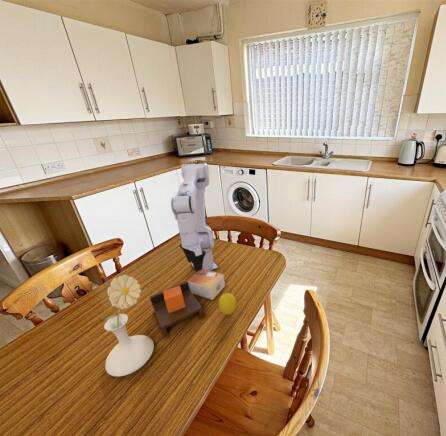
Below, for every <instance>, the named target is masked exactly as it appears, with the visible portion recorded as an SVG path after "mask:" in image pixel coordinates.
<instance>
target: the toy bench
mask: <svg viewBox="0 0 446 436" xmlns="http://www.w3.org/2000/svg"><path fill="white" fill-rule="evenodd" d="M177 286H180V288H181V292H182V295H183V299H184V303H185V307H184V308H181V309H179V310H176V311H174V312H171V313H168V309H167V306H166V303H165V299H164V294H163V291H165V290H168V289H171V288H174V287H177ZM165 290H162V291H160V292H157V293H155V294H153V295H150V296H149V299H150V303H151V305H152V308H153V311H154V314H155V317H156V319H157V321H158V324H159V326H160V329H161V331H162V333H163V337H164V338H166V337H169V333H168V330H167V329H168V328H169V327H172V326H174V325H176V324H177V323H180V322H181V321H183V320H186V319H187V318H189V317H191V316H193V315H195V314H198V317H199V318H200V319H202V318H204V317H205V316H204V312H203V307H202V306H201V304H200V302H199V301H198V299H197V298H196V297H195V294H193V293H192V292H191V290H190V289H189V285H188V282H187V280H185V281H183V282H181V283H178V284H176V285H173V286H171V287H168V288H166V289H165Z"/></svg>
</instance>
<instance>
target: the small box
mask: <svg viewBox="0 0 446 436" xmlns="http://www.w3.org/2000/svg"><path fill="white" fill-rule="evenodd" d="M186 281H187V282H188V285H189V289H190V290H191V292H192V294H193V295H196V296H200V297H202V298H205V299H207V300H211V301H213V300H214V299H215V298H216V297H217V296H218V295H219V294H220V293H221V292H222V291H223V290H224V288H225V287H226V282H225V275H224V274H223V273H219V272H216V271H213V270H211V271H209V270H205V269H202V270H200V271H198V272H196V271H195V273H194V274H193V275H192V276H190V277H189V278H188V279H187V280H186Z"/></svg>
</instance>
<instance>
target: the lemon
mask: <svg viewBox="0 0 446 436" xmlns="http://www.w3.org/2000/svg"><path fill="white" fill-rule="evenodd" d="M237 305H238V304H237V300H236V297H235V295H233V294H232V293H229V292H227V293H224V294H222V295H221V296H220V297H219V300H218V309H219V311H220V312H221V313H222V314H223V315H225V316H230V315H232V314H233V313H235V312H236V309H237Z"/></svg>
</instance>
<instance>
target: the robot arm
mask: <svg viewBox="0 0 446 436" xmlns="http://www.w3.org/2000/svg"><path fill="white" fill-rule="evenodd" d="M208 165H209V164H207V162H203V163H188V164H185V163H183V164H182V165H181V167H180V171H181V176H182V178H183V182H181V183H180V185H179V187H178V189H177V193H176V195H175V196H174V197H172V198H171V199H170V206H171V207H170V209H171V211H172V213H173V215H174V219H175V221H177V225H178V226H177V227H178V232H179V236H180V241H181V243H180V244H179V245H178V246H179V248H180V249H181V250H182V251H183V253H184V256H185V257H186V259H187V262H188V263H191V266H192V267H193V269H194V271H195V273H196V272H198V271H200V270H202V269H205V270H209V271H214V270H216V269H218V267H219V266H218V265H217V264H216V263H215V262H214V257H213V252H212V249H213V248H214V247H215V237H214V231H213V230H212V229H211V227H208V226H206V223H207V222H206V198H205V197H206V196H205V195H206V194H205V193H206V187H208V186H209V185H210V169H209V166H208Z"/></svg>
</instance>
